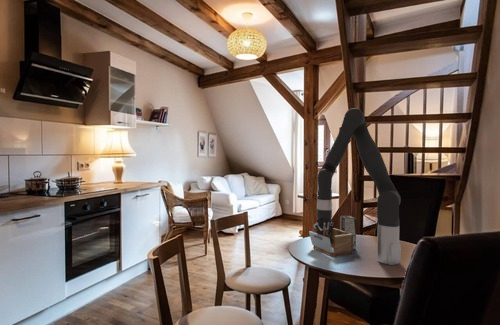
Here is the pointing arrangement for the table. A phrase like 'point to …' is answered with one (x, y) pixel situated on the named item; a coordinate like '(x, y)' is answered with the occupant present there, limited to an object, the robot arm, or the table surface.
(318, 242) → the panel
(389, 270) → the table surface
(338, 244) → the pickup bed
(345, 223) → the coffee box
